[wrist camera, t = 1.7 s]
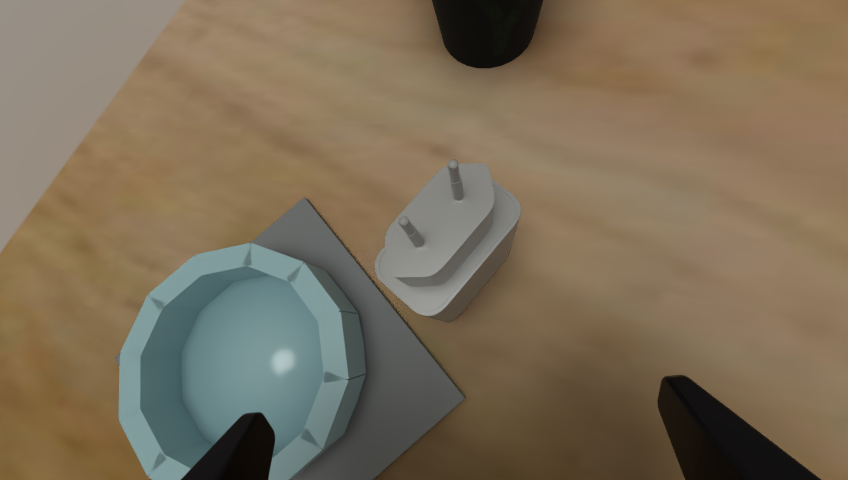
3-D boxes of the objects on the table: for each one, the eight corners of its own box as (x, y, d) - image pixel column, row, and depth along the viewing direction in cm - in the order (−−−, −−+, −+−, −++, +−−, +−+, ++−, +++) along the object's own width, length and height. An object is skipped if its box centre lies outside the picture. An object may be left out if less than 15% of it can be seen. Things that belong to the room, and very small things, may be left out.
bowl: (410, 377, 20) (396, 385, 17) (238, 527, 19) (192, 563, 16) (289, 219, 23) (258, 201, 20) (138, 346, 22) (82, 349, 19)
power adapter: (515, 248, 21) (551, 144, 9) (448, 327, 20) (400, 321, 9) (469, 213, 22) (451, 77, 10) (404, 288, 21) (308, 237, 10)
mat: (465, 397, 20) (464, 398, 19) (246, 590, 19) (241, 595, 19) (307, 199, 23) (304, 197, 23) (120, 357, 23) (114, 357, 22)
